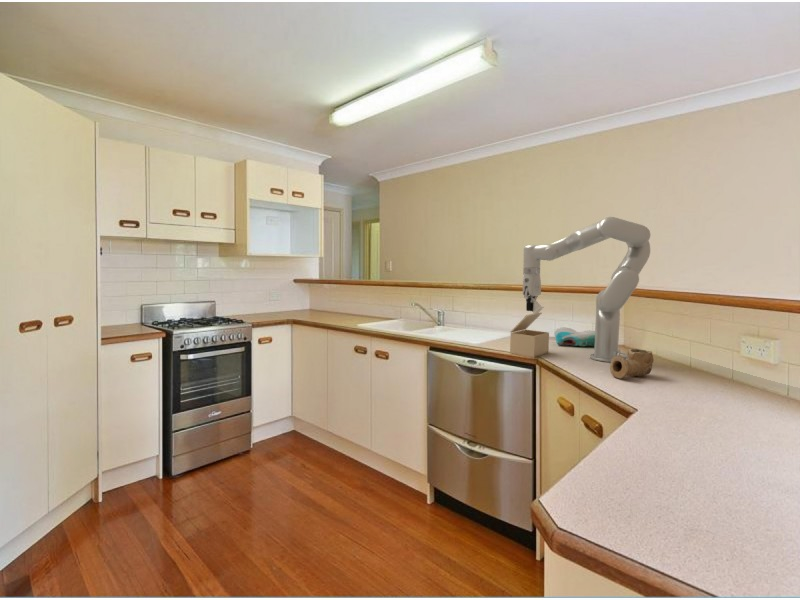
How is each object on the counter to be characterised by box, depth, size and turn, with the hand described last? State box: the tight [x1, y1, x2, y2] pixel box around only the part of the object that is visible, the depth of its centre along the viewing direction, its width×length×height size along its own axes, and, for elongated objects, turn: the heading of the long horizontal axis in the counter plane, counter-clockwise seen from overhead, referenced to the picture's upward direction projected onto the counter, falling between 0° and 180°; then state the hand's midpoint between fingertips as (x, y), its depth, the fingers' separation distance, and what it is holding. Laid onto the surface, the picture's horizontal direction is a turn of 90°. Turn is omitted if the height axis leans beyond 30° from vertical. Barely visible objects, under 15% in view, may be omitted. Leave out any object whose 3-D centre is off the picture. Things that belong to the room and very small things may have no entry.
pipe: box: [609, 348, 655, 380], centre depth 155 cm, size 9×16×10 cm, turn 111°
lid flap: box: [510, 298, 545, 334], centre depth 195 cm, size 17×15×6 cm
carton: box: [509, 329, 550, 358], centre depth 195 cm, size 12×15×10 cm
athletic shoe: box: [554, 326, 595, 347], centre depth 211 cm, size 26×9×12 cm
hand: (531, 310), depth 193 cm, fingers closed on lid flap
